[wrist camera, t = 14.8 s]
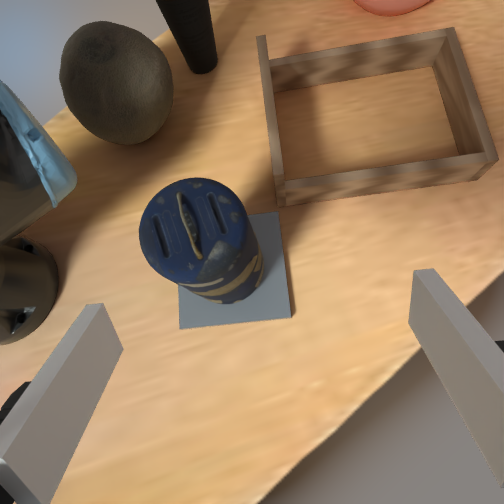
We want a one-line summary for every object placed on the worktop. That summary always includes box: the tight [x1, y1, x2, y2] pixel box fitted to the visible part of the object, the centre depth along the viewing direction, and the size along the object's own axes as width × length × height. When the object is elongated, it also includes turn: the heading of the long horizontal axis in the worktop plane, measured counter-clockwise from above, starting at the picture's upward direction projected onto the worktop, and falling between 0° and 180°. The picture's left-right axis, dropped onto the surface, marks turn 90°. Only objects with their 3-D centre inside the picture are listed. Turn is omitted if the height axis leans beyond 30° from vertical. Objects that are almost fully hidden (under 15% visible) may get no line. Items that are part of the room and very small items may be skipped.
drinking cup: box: [156, 0, 218, 74], centre depth 46 cm, size 8×8×20 cm
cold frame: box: [256, 27, 499, 207], centre depth 44 cm, size 26×20×9 cm
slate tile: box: [178, 211, 291, 330], centre depth 44 cm, size 14×14×1 cm
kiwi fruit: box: [59, 21, 173, 145], centre depth 46 cm, size 14×14×15 cm
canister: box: [139, 178, 264, 304], centre depth 35 cm, size 10×10×18 cm
